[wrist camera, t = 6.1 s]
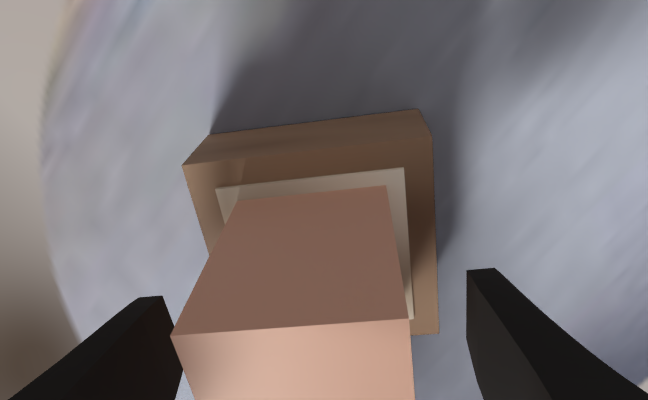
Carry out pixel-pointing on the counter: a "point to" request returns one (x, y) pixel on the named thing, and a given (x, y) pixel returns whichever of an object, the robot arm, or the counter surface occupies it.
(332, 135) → the walnut foundation
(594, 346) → the counter surface
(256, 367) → the terracotta block
